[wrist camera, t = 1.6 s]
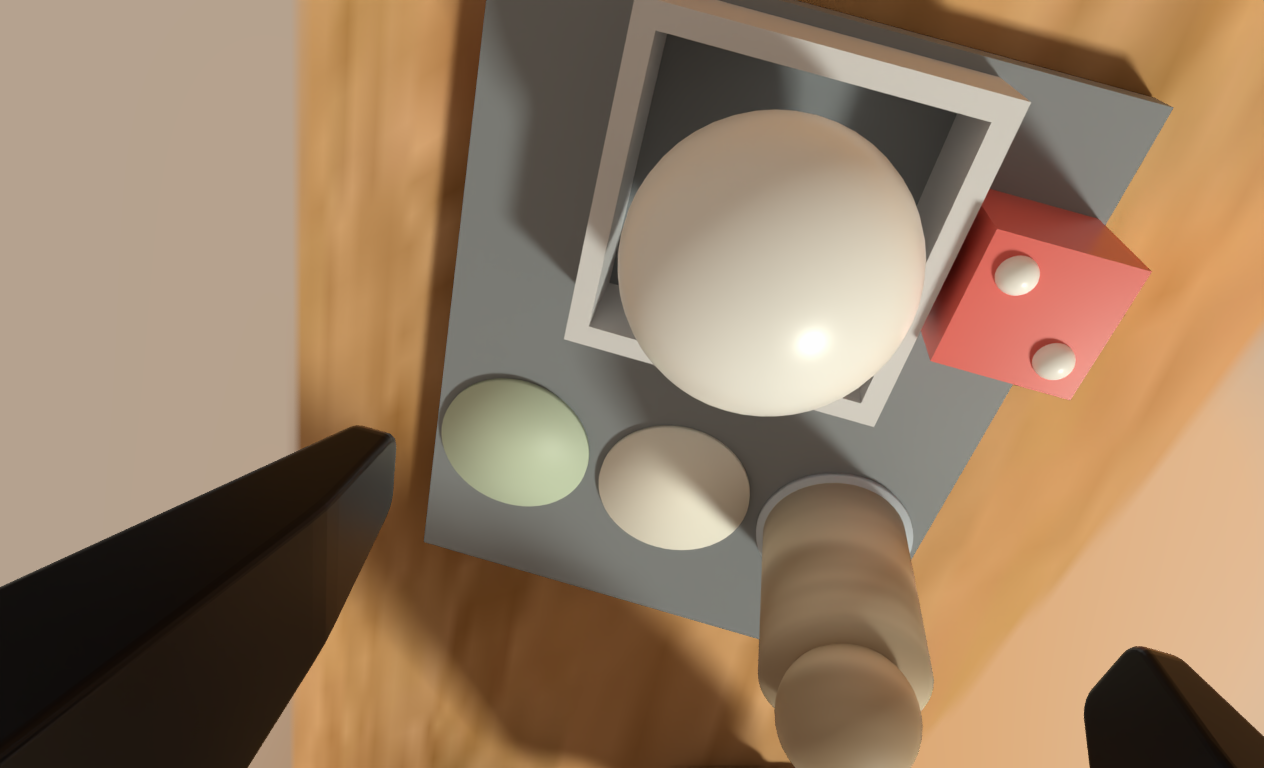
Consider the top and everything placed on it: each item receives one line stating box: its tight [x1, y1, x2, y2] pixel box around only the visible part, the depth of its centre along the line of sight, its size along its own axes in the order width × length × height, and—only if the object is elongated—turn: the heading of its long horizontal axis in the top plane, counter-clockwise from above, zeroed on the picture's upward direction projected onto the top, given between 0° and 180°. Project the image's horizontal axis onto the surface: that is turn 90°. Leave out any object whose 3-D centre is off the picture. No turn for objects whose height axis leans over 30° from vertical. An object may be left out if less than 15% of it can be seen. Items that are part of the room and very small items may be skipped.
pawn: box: [758, 483, 934, 768], centre depth 20 cm, size 4×4×8 cm
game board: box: [424, 0, 1173, 639], centre depth 21 cm, size 18×14×4 cm
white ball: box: [618, 109, 926, 416], centre depth 15 cm, size 6×6×6 cm
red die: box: [921, 189, 1152, 400], centre depth 17 cm, size 3×3×3 cm
